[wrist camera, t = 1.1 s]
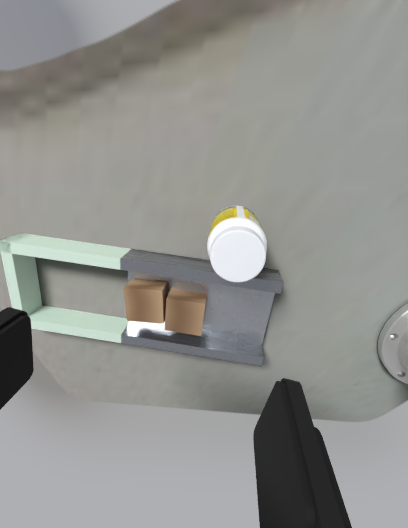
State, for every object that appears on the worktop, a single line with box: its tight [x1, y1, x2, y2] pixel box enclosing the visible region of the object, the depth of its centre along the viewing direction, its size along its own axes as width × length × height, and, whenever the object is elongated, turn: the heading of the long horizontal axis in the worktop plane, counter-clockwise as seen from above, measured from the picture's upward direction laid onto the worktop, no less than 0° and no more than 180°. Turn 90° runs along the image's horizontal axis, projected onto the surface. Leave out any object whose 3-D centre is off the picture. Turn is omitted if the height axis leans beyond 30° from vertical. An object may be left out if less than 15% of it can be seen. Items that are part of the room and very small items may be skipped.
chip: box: [124, 279, 168, 324], centre depth 27 cm, size 4×4×2 cm
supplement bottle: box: [207, 206, 267, 282], centre depth 22 cm, size 5×5×8 cm
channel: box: [120, 249, 284, 366], centre depth 28 cm, size 16×10×3 cm, turn 83°
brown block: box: [164, 288, 207, 336], centre depth 27 cm, size 4×4×2 cm
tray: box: [0, 233, 131, 343], centre depth 28 cm, size 13×10×3 cm
